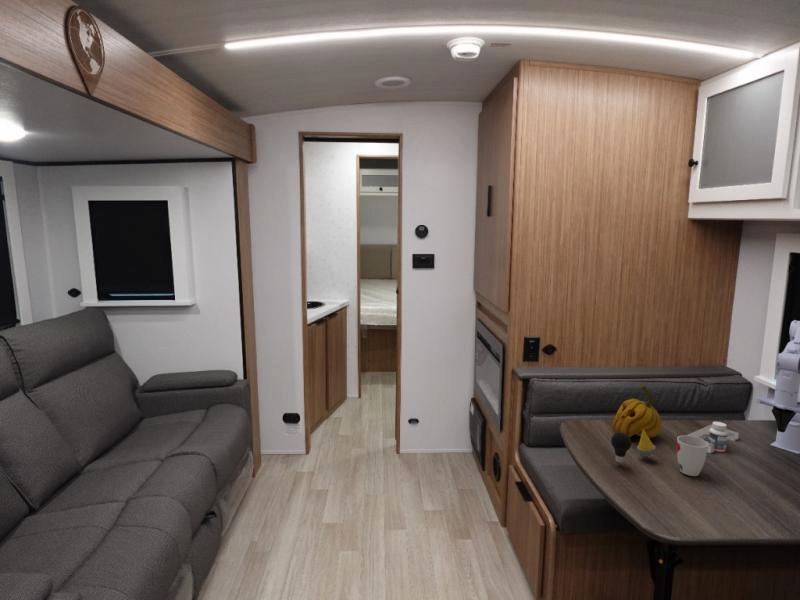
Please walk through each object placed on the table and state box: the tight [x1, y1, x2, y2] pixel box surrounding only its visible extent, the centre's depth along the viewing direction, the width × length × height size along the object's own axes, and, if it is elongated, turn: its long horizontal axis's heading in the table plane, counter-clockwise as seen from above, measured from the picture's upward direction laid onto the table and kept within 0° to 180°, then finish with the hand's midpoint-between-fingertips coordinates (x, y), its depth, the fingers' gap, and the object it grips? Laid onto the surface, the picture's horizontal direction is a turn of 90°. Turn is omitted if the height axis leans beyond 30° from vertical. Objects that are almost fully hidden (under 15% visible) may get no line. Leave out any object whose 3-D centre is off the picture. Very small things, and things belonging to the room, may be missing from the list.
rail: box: [685, 424, 740, 454], centre depth 168 cm, size 20×9×2 cm, turn 123°
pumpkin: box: [611, 383, 662, 439], centre depth 171 cm, size 14×16×20 cm
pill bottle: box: [707, 421, 728, 453], centre depth 162 cm, size 5×5×9 cm
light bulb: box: [610, 432, 632, 464], centre depth 151 cm, size 6×6×10 cm
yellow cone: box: [636, 429, 657, 459], centre depth 155 cm, size 5×5×10 cm
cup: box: [676, 435, 708, 477], centre depth 146 cm, size 8×8×10 cm
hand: (781, 431), depth 152 cm, fingers closed
